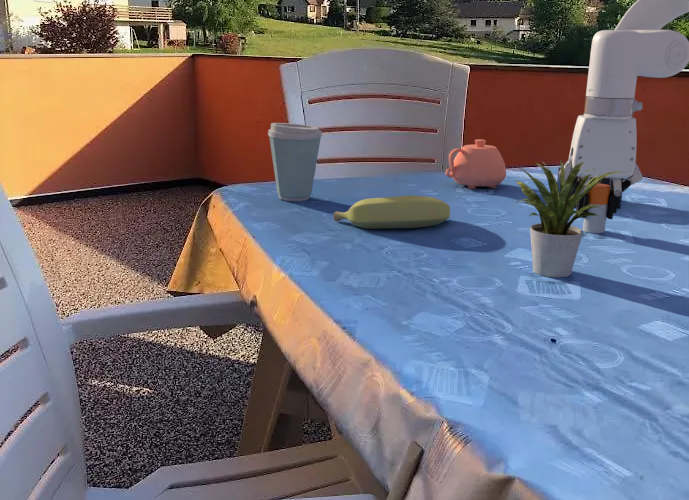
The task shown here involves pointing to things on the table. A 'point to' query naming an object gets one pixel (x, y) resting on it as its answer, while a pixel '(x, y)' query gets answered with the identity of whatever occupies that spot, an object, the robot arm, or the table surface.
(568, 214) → the house plant
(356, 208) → the banana
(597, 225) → the orange-capped white cylinder
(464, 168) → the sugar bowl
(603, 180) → the holder
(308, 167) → the disposable coffee cup
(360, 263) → the table surface
